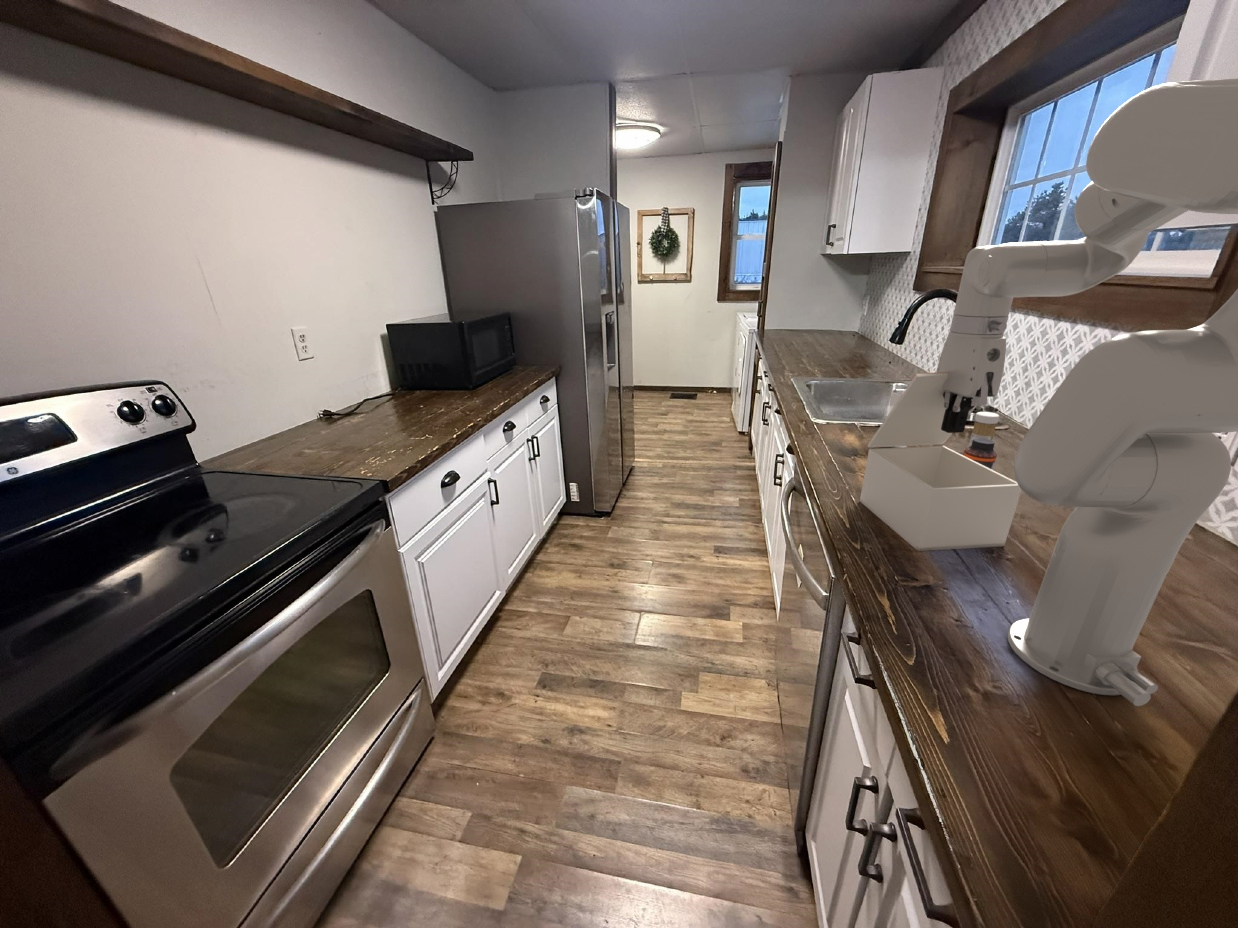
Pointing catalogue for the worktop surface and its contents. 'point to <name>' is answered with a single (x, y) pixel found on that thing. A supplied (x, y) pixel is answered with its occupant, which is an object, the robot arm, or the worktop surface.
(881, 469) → the carton
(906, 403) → the lid flap
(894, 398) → the beer glass
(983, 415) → the sprinkles bottle
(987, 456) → the supplement bottle
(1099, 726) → the worktop surface
